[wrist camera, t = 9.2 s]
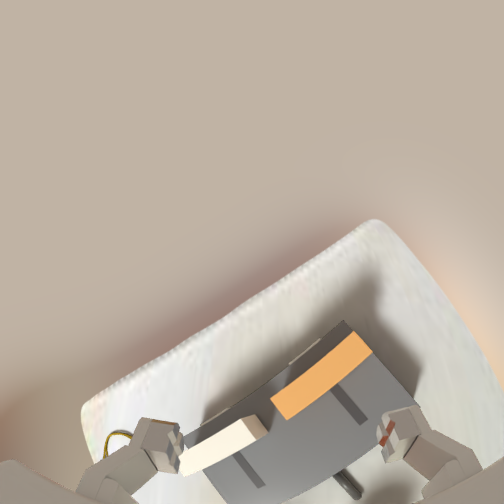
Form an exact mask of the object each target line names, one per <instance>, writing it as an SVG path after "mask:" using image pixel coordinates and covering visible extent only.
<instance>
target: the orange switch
mask: <svg viewBox="0 0 504 504" xmlns="http://www.w3.org/2000/svg"><path fill="white" fill-rule="evenodd" d="M372 352H373V351H372V350H371V349H370V348H369V347H368V346H367V345H366V344H365V343H364V341H363V340H362V339H361V338H360V337H359V336H358V335H357V334H356V333H355V331H353V332H352V333H351V334H350V335H349V336H348V337H347V338H345V339H344V340H343V341H342V342H341V343H340V344H339V345H337V346H336V347H335V348H334V349H333V350H332V351H330V352H329V353H328V354H327V355H326V356H325V357H323V358H322V359H321V360H320V361H319V362H317V363H316V364H315V365H314V366H312V367H311V368H310V369H309V370H307V371H306V372H305V373H304V374H302V375H301V376H300V377H298V378H297V379H296V380H295V381H293V382H292V383H291V384H289V385H288V386H287V387H285V388H284V389H282V390H281V391H280V392H278V393H277V394H276V395H274V396H273V397H271V398H270V399H271V401H272V402H273V403H274V405H275V406H276V407H277V409H278V410H279V411H280V413H281V414H282V415H283V416H284V418H285V419H286V420H288V419H290V418H292V417H293V416H295V415H296V414H298V413H299V412H300V411H302V410H303V409H305V408H306V407H307V406H309V405H310V404H311V403H313V402H314V401H315V400H317V399H318V398H319V397H321V396H322V395H323V394H325V393H326V392H327V391H328V390H330V389H331V388H332V387H333V386H335V385H336V384H337V383H338V382H340V381H341V380H342V379H343V378H344V377H346V376H347V375H348V374H349V373H350V372H352V371H353V370H354V369H355V368H356V367H357V366H358V365H360V364H361V363H362V362H363V361H364V360H365V359H366V358H367V357H368V356H369V355H370V354H371V353H372Z"/></svg>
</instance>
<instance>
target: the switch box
mask: <svg viewBox="0 0 504 504" xmlns="http://www.w3.org/2000/svg"><path fill="white" fill-rule="evenodd" d="M352 332H353V330H352V329H351V328H350V327H349V326H348V325H347V324H346V322H345V321H344V320H343V321H342V322H341V323H339V324H338V325H337V326H336V327H335V328H334V329H333V330H332V331H330V332H329V333H328V334H327V335H326V336H325V337H323V338H322V339H321V338H319V339H318V340H317V341H315V342H314V343H313V344H312V345H311V346H309V347H308V348H307V349H306V350H305V351H303V352H302V353H301V354H300V355H298V356H297V357H296V358H295V359H293V360H292V361H291V362H290V363H288V364H289V366H288V367H287V368H285V369H284V370H283V371H281V372H280V373H279V374H278V375H276V376H275V377H274V378H272V379H271V380H270V381H268V382H267V383H265V384H264V385H263V386H261V387H260V388H259V389H257V390H256V391H254V392H253V393H251V394H250V395H249V396H247V397H246V398H244V399H243V400H241V401H240V402H238V403H237V404H235V405H234V406H233V407H228V408H226V409H224V410H223V411H221V412H220V413H218V414H217V415H215V416H213V417H212V418H210V419H209V420H207V421H205V422H204V423H202V424H201V425H200V426H201V427H199V428H198V429H196V430H194V431H193V432H191V433H189V434H188V435H186V436H184V443H185V445H186V446H187V448H188V449H190V448H192V447H193V446H195V445H197V444H199V443H201V442H202V441H204V440H206V439H208V438H209V437H211V436H213V435H215V434H216V433H218V432H220V431H221V430H223V429H225V428H226V427H228V426H230V425H231V424H233V423H234V422H236V421H237V420H239V419H241V418H244V417H247V416H251V415H254V414H255V415H256V416H257V418H258V419H259V420H260V422H261V423H262V424H263V426H264V427H265V428H266V430H267V431H268V432H269V433H268V434H266V435H265V436H263V437H261V438H260V439H258V440H256V441H255V442H253V443H251V444H250V445H248V446H246V447H245V448H243V449H241V450H239V451H237V452H236V453H234V454H232V455H230V456H228V457H226V458H224V459H223V460H221V461H219V462H217V463H215V464H213V465H211V466H209V467H207V468H205V469H202V470H203V472H204V473H205V475H206V476H207V478H208V479H209V480H210V482H211V483H212V484H213V486H214V487H215V488H216V490H217V491H218V492H219V494H220V495H221V496H222V498H223V499H224V500H225V501H226V503H227V504H281V503H283V502H285V501H287V500H289V499H291V498H294V497H295V496H297V495H299V494H301V493H303V492H305V491H307V490H309V489H311V488H312V487H314V486H316V485H318V484H320V483H321V482H323V481H325V480H326V479H328V478H330V477H331V476H333V477H334V478H335V480H336V481H337V482H338V483H339V484H340V485H341V486H342V487H343V488H344V489H345V490H346V492H347V493H348V494H349V495H350V496H351V497H352V498H353V499H354V500H359V499H360V498H361V497H362V495H361V493H360V492H359V491H358V490H357V489H356V488H355V487H354V486H353V485H352V484H351V483H350V482H349V481H348V479H347V478H346V477H345V476H344V475H343V474H342V473H341V472H340V471H341V470H342V469H344V468H345V467H347V466H349V465H350V464H351V463H353V462H354V461H356V460H357V459H359V458H360V457H362V456H363V455H364V454H366V453H367V452H368V451H370V450H371V449H372V448H374V447H375V446H376V445H378V441H377V436H376V433H377V427H378V425H379V424H380V423H381V422H382V415H383V414H384V413H385V412H389V411H393V410H397V409H401V408H404V407H405V408H406V407H409V406H413V405H418V404H417V402H416V401H415V400H414V399H413V398H412V397H411V395H410V394H409V393H408V392H407V391H406V390H405V389H404V387H403V386H402V385H401V384H400V383H399V382H398V381H397V379H396V378H395V377H394V376H393V375H392V374H391V373H390V372H389V370H388V369H387V368H386V367H385V366H384V365H383V364H382V362H381V361H380V360H379V359H378V358H377V357H376V356H375V355H374V353H373V352H372V353H371V354H370V355H369V356H368V357H367V358H366V359H365V360H364V361H363V362H362V363H361V364H360V365H358V366H357V367H356V368H355V369H354V370H353V371H352V372H350V373H349V374H348V375H347V376H346V377H344V378H343V379H342V380H341V381H340V382H338V383H337V384H336V385H335V386H333V387H332V388H331V389H330V390H328V391H327V392H326V393H325V394H323V395H322V396H321V397H319V398H318V399H317V400H315V401H314V402H313V403H311V404H310V405H309V406H307V407H306V408H305V409H303V410H302V411H300V412H299V413H298V414H296V415H295V416H293V417H292V418H290V419H288V420H286V419H285V418H284V416H283V415H282V414H281V413H280V411H279V410H278V409H277V407H276V406H275V405H274V403H273V402H272V401H271V399H270V398H271V397H273V396H274V395H276V394H277V393H278V392H280V391H281V390H282V389H284V388H285V387H287V386H288V385H289V384H291V383H292V382H293V381H295V380H296V379H297V378H298V377H300V376H301V375H302V374H304V373H305V372H306V371H307V370H309V369H310V368H311V367H312V366H314V365H315V364H316V363H317V362H319V361H320V360H321V359H322V358H323V357H325V356H326V355H327V354H328V353H329V352H330V351H332V350H333V349H334V348H335V347H336V346H337V345H339V344H340V343H341V342H342V341H343V340H344V339H345V338H347V337H348V336H349V335H350V334H351V333H352ZM418 406H419V405H418ZM419 408H420V406H419Z"/></svg>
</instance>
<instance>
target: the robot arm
mask: <svg viewBox="0 0 504 504" xmlns="http://www.w3.org/2000/svg"><path fill="white" fill-rule="evenodd" d="M179 429H180V427H179V424H178V423H175V422H168V421H161V420H155V419H150V418H144V417H142V418H141V419H140V420H139V422H138V424H137V427H136V429H135V431H134V434H133V436H132V438H131V441H130V443H129V446H126V445H125V446H123V447H122V448H120V449H119V450H117V451H116V452H114V453H112V454H111V455H109V456H108V457H106V458H104V459H103V460H101V461H99V462H98V463H96V464H94V465H93V466H91V467H89V468H88V469H86V471H85V473H84V475H83V477H82V479H81V481H80V483H79V485H78V487H77V489H76V492H74V491H72V490H70V489H68V488H66V487H64V486H62V485H60V484H58V483H56V482H54V481H52V480H50V479H48V478H47V477H45V476H43V475H41V474H39V473H38V472H36V471H34V470H32V469H31V468H29V467H28V466H26V465H24V464H23V463H21V462H19V461H17V460H15V459H11V460H7V461H4V462H1V463H0V504H139V503H138V502H137V501H136V500H135V499H134V498H133V497H132V496H131V495H132V494H134V493H135V492H136V491H137V490H138V489H139V488H141V487H142V486H143V485H144V484H145V483H146V482H147V481H149V480H150V479H151V478H152V477H153V476H154V475H155V474H156V473H158V471H161V472H167V473H174V474H178V470H179V466H180V460H179V456H180V455H181V454H183V450H184V437H183V434H182V433H180V432H179ZM376 436H377V441H378V444H379V445H381V446H382V447H383V449H382V451H381V453H382V455H383V458H384V461H385V463H389V462H393V461H397V460H400V459H403V460H404V461H405V462H406V463H408V464H409V465H410V466H411V467H413V468H414V469H415V470H417V471H418V472H419V473H420V474H422V475H423V476H424V477H425V478H427V479H428V480H429V482H428V483H427V484H426V485H425V486H424V488H423V489H422V490H421V491H422V494H423V497H424V499H423V500H420V501H418V502H415V503H413V504H504V457H502V458H501V459H499V460H498V461H496V462H495V463H493V464H492V465H490V466H488V467H487V468H485V469H482V467H481V465H480V463H479V461H478V459H477V457H476V455H475V454H474V452H473V450H472V449H470V448H468V447H466V446H464V445H462V444H460V443H458V442H457V441H455V440H453V439H451V438H449V437H447V436H445V435H443V434H442V433H440V432H438V431H436V430H433V431H432V430H431V428H430V426H429V424H428V422H427V420H426V418H425V417H424V415H423V413H422V411H421V409H420V408H419V406H418V405H413V406H409V407H406V408H405V407H404V408H401V409H397V410H393V411H389V412H385V413H384V414H383V415H382V422H381V423H380V424H379V425H378V427H377V433H376Z"/></svg>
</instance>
